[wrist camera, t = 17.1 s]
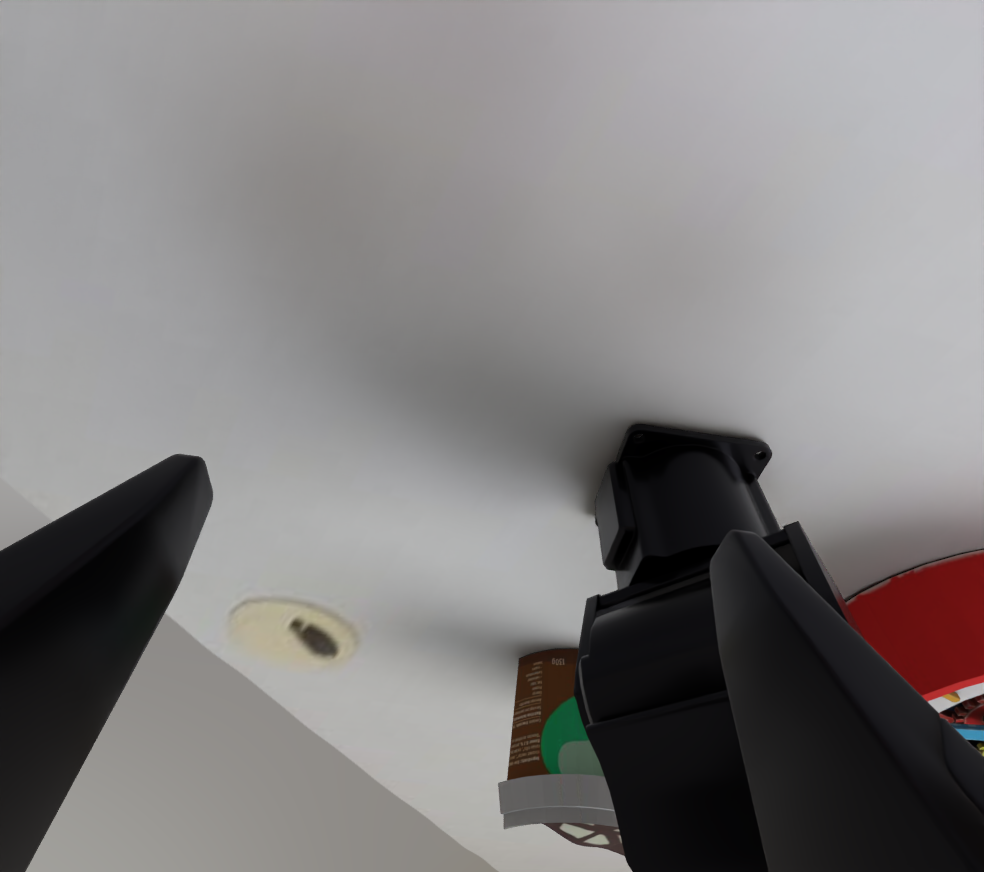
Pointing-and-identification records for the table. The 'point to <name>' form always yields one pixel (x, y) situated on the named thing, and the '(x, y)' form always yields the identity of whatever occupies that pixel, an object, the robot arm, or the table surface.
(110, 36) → the table surface
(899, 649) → the toy clock
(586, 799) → the food container
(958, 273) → the table surface
